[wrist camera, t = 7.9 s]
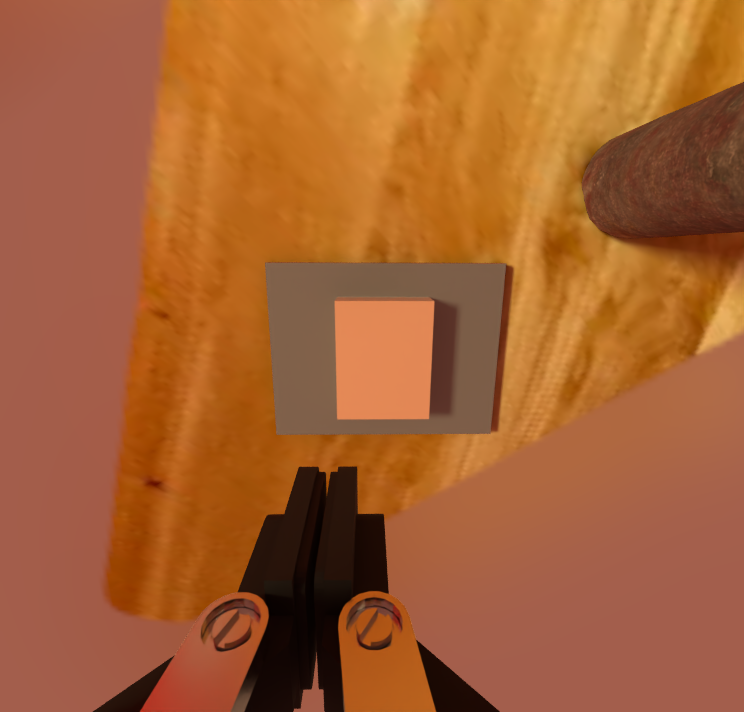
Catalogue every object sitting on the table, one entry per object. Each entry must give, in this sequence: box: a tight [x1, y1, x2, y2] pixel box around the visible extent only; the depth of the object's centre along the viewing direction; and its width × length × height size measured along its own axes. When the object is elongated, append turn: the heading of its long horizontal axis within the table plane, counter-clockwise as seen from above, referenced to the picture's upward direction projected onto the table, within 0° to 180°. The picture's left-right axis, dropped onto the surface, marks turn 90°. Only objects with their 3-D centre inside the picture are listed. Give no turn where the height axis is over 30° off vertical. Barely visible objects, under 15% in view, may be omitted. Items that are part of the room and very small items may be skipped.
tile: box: [335, 297, 434, 419], centre depth 30 cm, size 2×9×7 cm
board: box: [265, 262, 506, 435], centre depth 31 cm, size 18×14×1 cm
